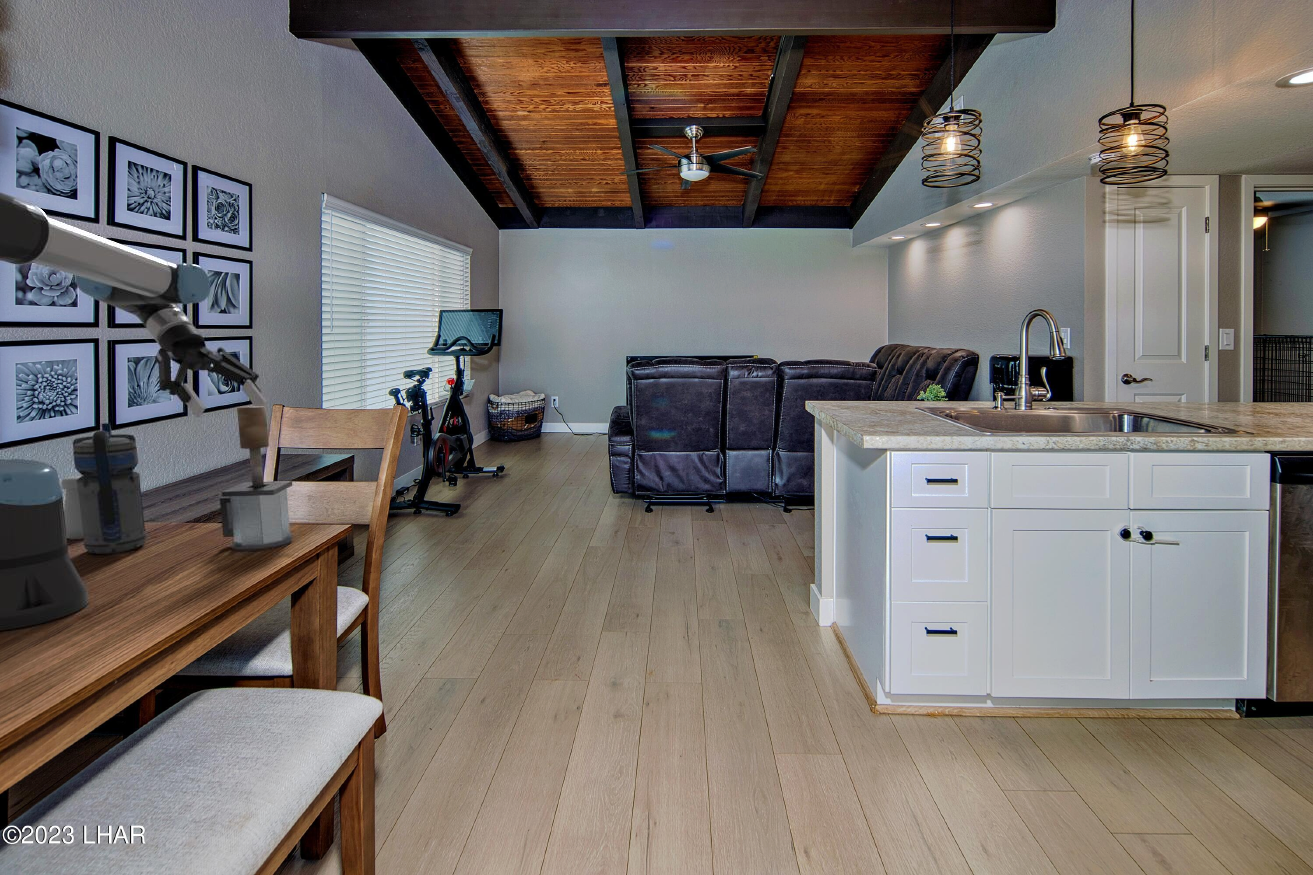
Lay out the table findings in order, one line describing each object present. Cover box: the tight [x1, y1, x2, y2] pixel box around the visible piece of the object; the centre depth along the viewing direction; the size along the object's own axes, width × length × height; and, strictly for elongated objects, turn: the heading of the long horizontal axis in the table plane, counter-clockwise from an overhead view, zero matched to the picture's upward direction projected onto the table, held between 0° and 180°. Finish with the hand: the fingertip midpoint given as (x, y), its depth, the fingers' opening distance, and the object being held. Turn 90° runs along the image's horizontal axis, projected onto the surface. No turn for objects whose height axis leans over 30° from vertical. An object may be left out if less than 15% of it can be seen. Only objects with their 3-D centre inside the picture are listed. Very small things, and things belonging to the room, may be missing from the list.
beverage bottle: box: [72, 422, 147, 555], centre depth 145 cm, size 10×13×25 cm
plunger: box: [236, 405, 270, 487], centre depth 147 cm, size 5×5×16 cm
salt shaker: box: [61, 475, 84, 540], centre depth 156 cm, size 6×6×13 cm
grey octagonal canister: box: [219, 480, 294, 552], centre depth 149 cm, size 12×11×12 cm
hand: (233, 409), depth 149 cm, fingers open, 13 cm apart
